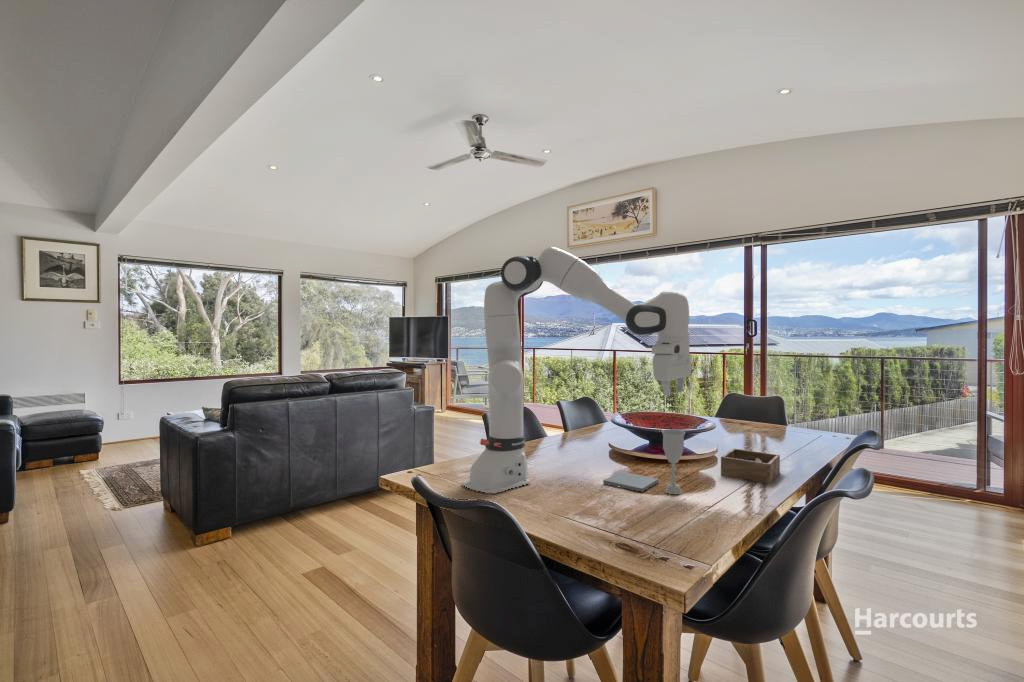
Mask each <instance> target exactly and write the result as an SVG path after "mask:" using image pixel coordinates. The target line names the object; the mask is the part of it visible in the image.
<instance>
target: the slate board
mask: <svg viewBox="0 0 1024 682" xmlns="http://www.w3.org/2000/svg"><path fill="white" fill-rule="evenodd" d="M602 483H604V484H603V485H606V484H609V485H608V486H611V485H614V486H613V487H615V486H620V487H624V488H628V489H633V490H637V491H642V492H641V493H644V492H645V491H644V490H646V489H647V490H649V489H650V488H649V487H651V486H652V487H654V486H655V484H656V485H657V484H659V483H660V482H659V478H655V477H650V476H647V475H642V474H636V473H632V472H631V473H630V472H626V471H621V470H620V471H619V472H617V473H615V474H613V475H610V476H608V477H607V478H604V479H603V480H602ZM653 485H654V486H653ZM652 487H651V488H652ZM624 488H623V489H624ZM648 488H649V489H648ZM628 489H627V490H628ZM633 490H632V491H633ZM647 490H646V491H647ZM637 491H636V492H637ZM643 491H644V492H643Z"/></svg>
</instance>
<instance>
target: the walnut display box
mask: <svg viewBox="0 0 1024 682" xmlns="http://www.w3.org/2000/svg"><path fill="white" fill-rule="evenodd" d="M748 457H752V458H754V461H748V460H746V459H747V458H748ZM741 458H742V459H743V460H742V459H741ZM756 458H758V459H760V460H761V461H762V463H761V462H755V459H756ZM780 459H781V457H780V454H774V453H768V452H761V451H755V450H748V449H741V448H740V449H739V448H732V449H730V450H729V451H727V452H726V453H724V454H722V456H721V457H720V475H721V476H724V475H725V477H731V478H736V477H737V479H741V478H742V480H747V479H748V480H747V481H752V480H753V481H752V482H758V483H759V482H760V483H765V484H771V483H772V482H773V481H774V480H775V479H776V477H777V476H779V474H780V468H781V465H780V464H781V463H780V462H781V461H780Z"/></svg>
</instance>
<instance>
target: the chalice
mask: <svg viewBox="0 0 1024 682" xmlns="http://www.w3.org/2000/svg"><path fill="white" fill-rule="evenodd" d="M661 433H662V449H663V451H664V455H665V457H666V460H667V462H668V463H670V464H671V467H670V472H671V474H670V475H669V476H670V478H671V481H670V483H667V485H666V487H665V489H664V491H665V492H666V493H665V492H664V493H665V494H667V493H669V494H668V495H670V494H681V493H682V494H683V491H682V490H681V488H680V485H679V484H678V483H677V482H676V478H677V475H676V471H677V469H676V464H678V463H679V462H680V459H681V458H682V455H683V452H684V449H685V446H684V445H685V440H684V439H685V435H686V431H684V430H680V429H673V428H672V429H669V428H668V429H663V430H661ZM682 494H681V495H682Z"/></svg>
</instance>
